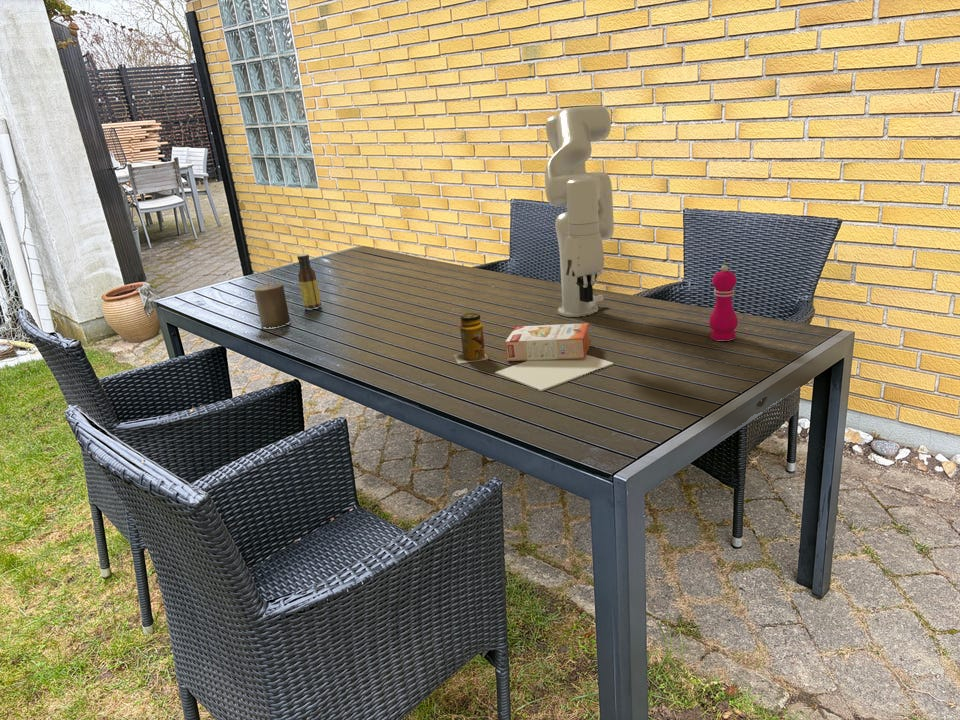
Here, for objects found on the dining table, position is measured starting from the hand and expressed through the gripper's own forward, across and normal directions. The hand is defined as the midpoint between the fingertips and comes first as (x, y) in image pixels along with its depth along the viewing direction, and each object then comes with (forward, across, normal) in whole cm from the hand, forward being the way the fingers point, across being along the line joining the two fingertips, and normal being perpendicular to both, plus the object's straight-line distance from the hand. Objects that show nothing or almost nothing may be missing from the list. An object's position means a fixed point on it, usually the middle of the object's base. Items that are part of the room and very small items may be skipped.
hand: (586, 300), depth 187 cm
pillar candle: (+15, +46, -104) cm, 115 cm away
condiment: (+15, +21, -24) cm, 35 cm away
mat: (+15, +12, 0) cm, 19 cm away
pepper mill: (+15, -33, +17) cm, 40 cm away
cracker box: (+11, -2, -2) cm, 12 cm away
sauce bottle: (+15, +28, -114) cm, 118 cm away
